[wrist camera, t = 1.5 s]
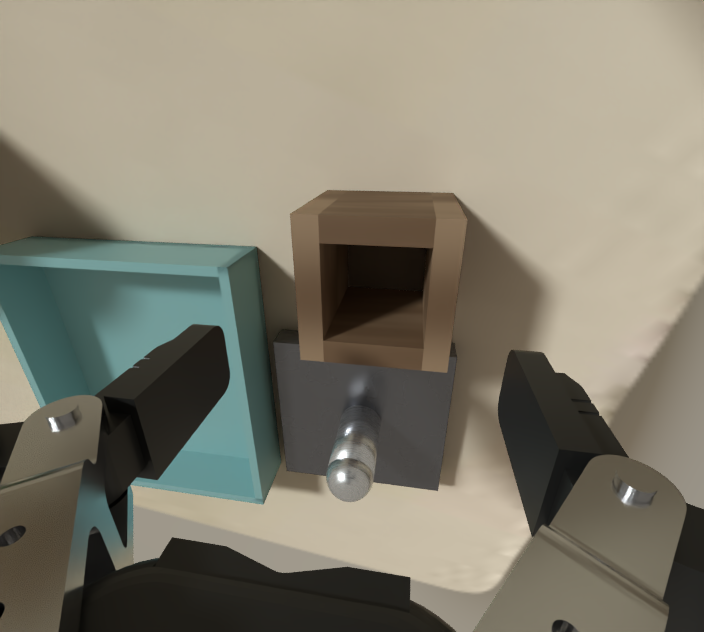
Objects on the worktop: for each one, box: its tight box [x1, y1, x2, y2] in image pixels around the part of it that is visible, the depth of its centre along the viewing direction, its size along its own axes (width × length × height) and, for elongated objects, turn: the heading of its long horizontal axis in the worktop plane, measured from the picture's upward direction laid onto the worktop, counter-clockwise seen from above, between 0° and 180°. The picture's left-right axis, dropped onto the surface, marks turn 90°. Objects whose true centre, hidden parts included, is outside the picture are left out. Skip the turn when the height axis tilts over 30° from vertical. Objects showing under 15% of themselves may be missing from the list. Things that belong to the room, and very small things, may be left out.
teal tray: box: [0, 236, 281, 504], centre depth 23 cm, size 16×14×4 cm
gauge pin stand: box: [273, 330, 457, 502], centre depth 21 cm, size 10×10×7 cm
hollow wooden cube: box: [290, 190, 468, 373], centre depth 17 cm, size 6×6×6 cm
